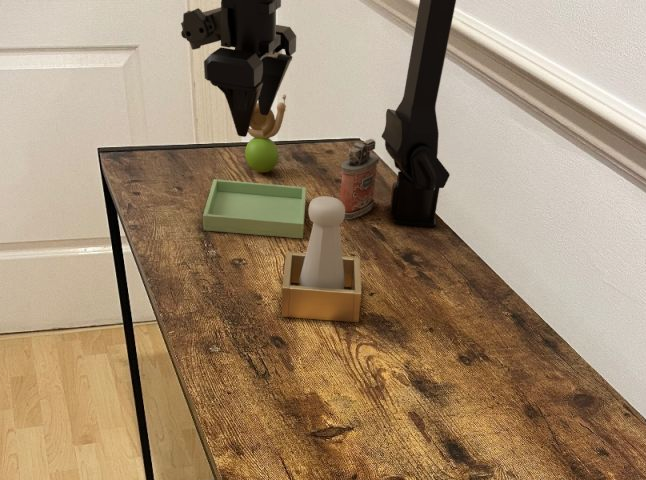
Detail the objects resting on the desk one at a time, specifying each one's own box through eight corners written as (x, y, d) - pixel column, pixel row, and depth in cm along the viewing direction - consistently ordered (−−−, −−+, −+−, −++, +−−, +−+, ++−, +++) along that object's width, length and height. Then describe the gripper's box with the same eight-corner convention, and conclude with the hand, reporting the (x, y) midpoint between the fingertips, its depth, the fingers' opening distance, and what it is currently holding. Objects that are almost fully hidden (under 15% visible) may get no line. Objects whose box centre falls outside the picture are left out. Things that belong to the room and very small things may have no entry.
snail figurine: (282, 180, 127) (284, 100, 119) (243, 175, 127) (242, 96, 118) (285, 167, 131) (287, 90, 123) (247, 163, 131) (246, 85, 122)
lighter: (351, 221, 118) (357, 153, 111) (332, 214, 120) (337, 146, 113) (378, 205, 124) (385, 139, 117) (360, 199, 125) (366, 133, 118)
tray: (305, 201, 122) (306, 187, 120) (302, 238, 113) (303, 223, 111) (214, 193, 121) (213, 178, 119) (203, 230, 111) (202, 215, 110)
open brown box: (357, 285, 104) (360, 257, 101) (358, 322, 97) (361, 293, 95) (285, 279, 103) (286, 251, 101) (281, 317, 96) (282, 287, 94)
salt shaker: (323, 317, 97) (330, 215, 88) (289, 300, 100) (292, 199, 91) (352, 301, 101) (361, 202, 92) (318, 284, 103) (324, 186, 94)
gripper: (216, -36, 101) (220, 95, 111) (156, -9, 87) (168, 137, 98) (299, -23, 100) (295, 108, 110) (251, 7, 86) (253, 152, 97)
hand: (253, 125), depth 104 cm, fingers open, 9 cm apart
